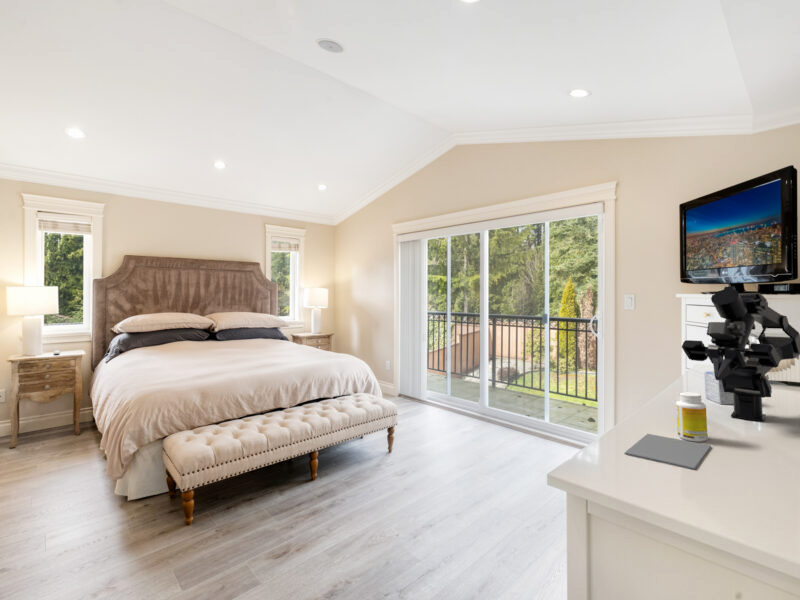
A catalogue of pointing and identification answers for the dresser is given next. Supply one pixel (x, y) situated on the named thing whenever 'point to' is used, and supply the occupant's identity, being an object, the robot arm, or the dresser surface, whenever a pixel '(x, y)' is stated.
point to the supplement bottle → (691, 417)
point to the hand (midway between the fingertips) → (717, 379)
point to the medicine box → (716, 390)
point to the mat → (669, 451)
